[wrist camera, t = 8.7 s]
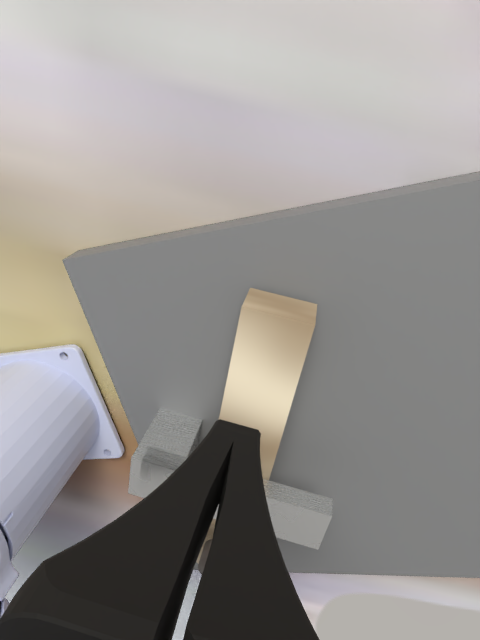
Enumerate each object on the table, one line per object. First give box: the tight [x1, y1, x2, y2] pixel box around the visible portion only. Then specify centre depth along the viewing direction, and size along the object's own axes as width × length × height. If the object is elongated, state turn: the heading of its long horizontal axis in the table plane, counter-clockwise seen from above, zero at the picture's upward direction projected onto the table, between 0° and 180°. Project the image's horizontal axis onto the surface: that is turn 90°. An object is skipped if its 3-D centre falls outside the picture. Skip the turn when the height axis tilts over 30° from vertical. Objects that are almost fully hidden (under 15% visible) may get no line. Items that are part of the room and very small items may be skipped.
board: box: [62, 172, 480, 578], centre depth 23 cm, size 22×22×2 cm
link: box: [196, 288, 317, 574], centre depth 22 cm, size 17×4×3 cm, turn 170°
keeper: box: [128, 408, 332, 550], centre depth 23 cm, size 10×2×4 cm, turn 80°
